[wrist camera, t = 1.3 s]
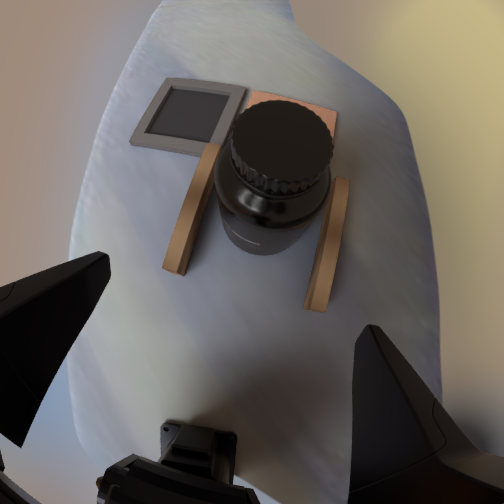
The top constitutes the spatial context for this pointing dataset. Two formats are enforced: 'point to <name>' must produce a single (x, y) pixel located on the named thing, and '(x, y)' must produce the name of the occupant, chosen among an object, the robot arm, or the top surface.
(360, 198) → the top surface
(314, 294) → the channel
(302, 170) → the supplement bottle
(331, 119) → the pad
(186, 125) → the trap pit
